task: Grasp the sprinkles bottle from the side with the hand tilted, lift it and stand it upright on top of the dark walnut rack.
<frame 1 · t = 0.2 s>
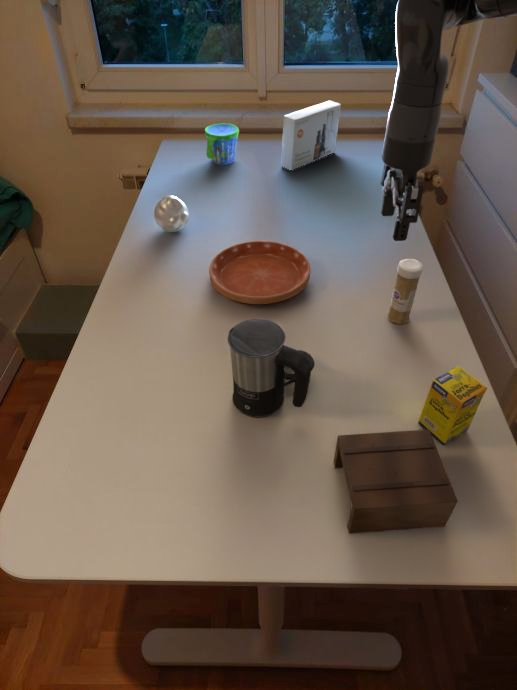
hand: (392, 227, 87), 23 cm above the table, tool pointing down, fingers open, 8 cm apart
rack: (386, 492, 76), on the table
skincare box: (309, 160, 164), on the table
sprinkles bottle: (398, 318, 106), on the table
milk frother: (273, 386, 92), on the table
snack cup: (223, 161, 164), on the table
supplement box: (442, 427, 85), on the table
shiny silver ball: (173, 230, 132), on the table
saucer: (259, 280, 116), on the table
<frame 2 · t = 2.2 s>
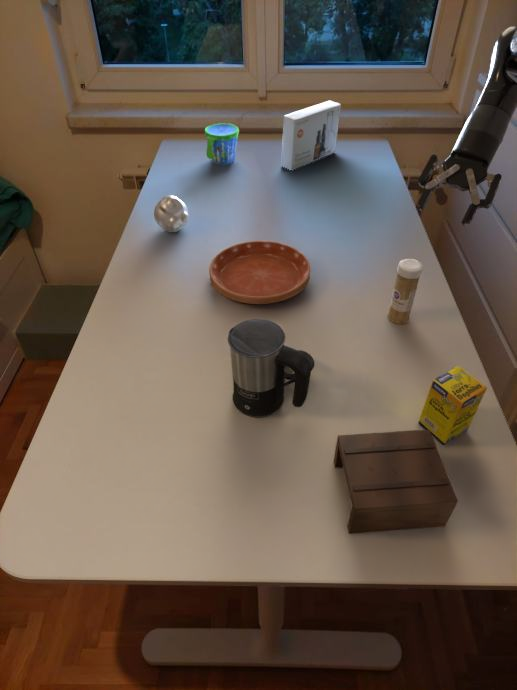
hand: (441, 217, 97), 19 cm above the table, tool tilted 40°, fingers open, 8 cm apart
nothing on the table moved.
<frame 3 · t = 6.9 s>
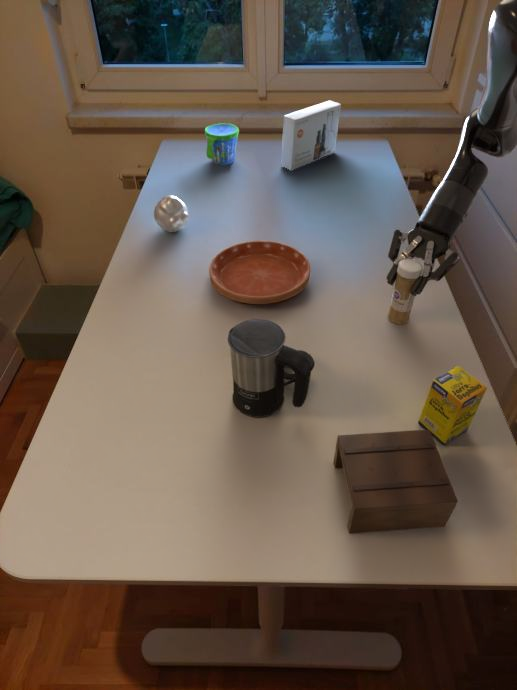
hand: (401, 289, 99), 9 cm above the table, tool tilted 45°, fingers closed on sprinkles bottle, 4 cm apart
sprinkles bottle: (398, 318, 106), on the table, touching gripper
everything else where it was.
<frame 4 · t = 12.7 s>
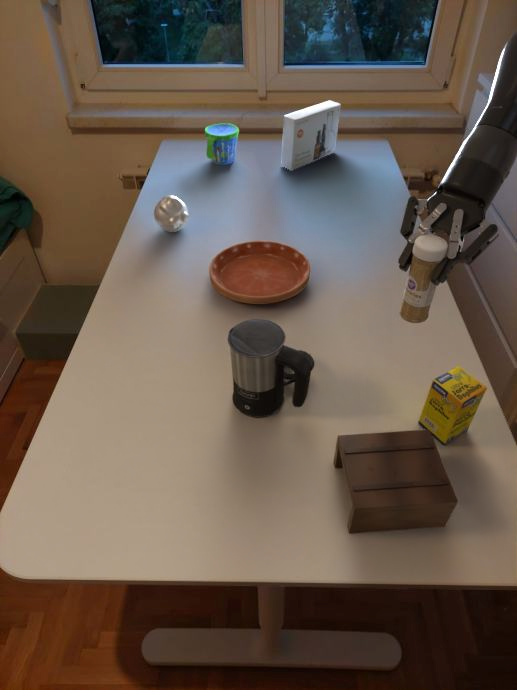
hand: (418, 276, 73), 26 cm above the table, tool tilted 45°, fingers closed on sprinkles bottle, 4 cm apart
sprinkles bottle: (413, 316, 80), point 17 cm above the table, touching gripper
everything else where it was.
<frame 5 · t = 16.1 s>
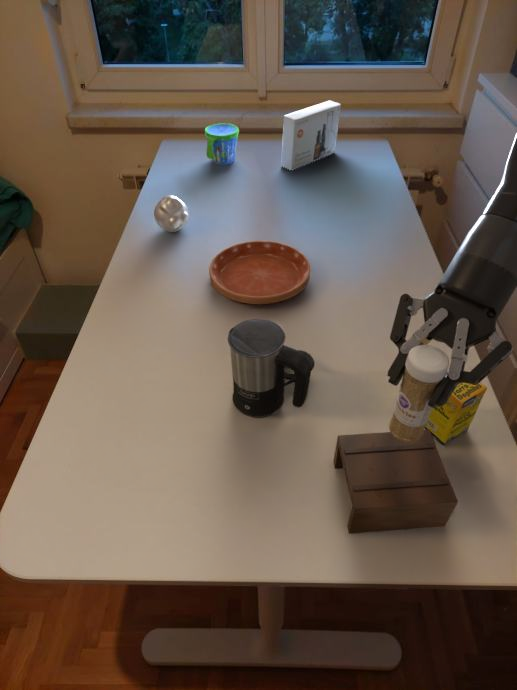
hand: (412, 394, 59), 24 cm above the table, tool tilted 45°, fingers closed on sprinkles bottle, 4 cm apart
sprinkles bottle: (405, 430, 66), point 15 cm above the table, touching gripper
everything else where it was.
when the fingers open (16 cm above the table, at t = 18.8 s): sprinkles bottle stays where it is, resting on rack.
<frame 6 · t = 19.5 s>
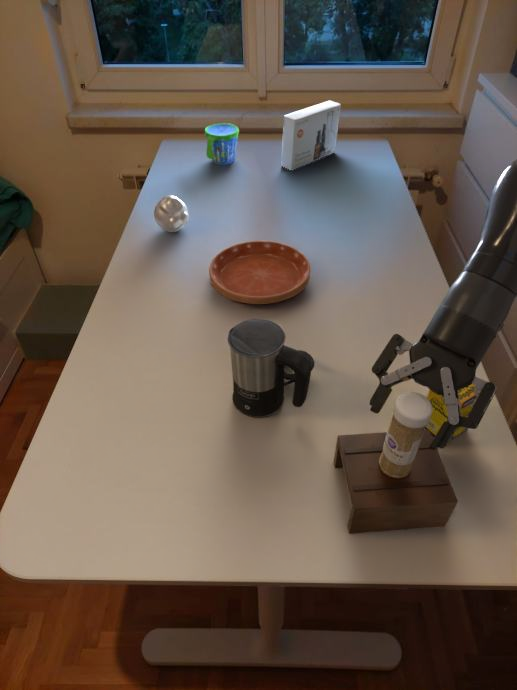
hand: (402, 429, 64), 17 cm above the table, tool tilted 45°, fingers open, 8 cm apart
sprinkles bottle: (394, 466, 71), point 7 cm above the table, touching rack
everything else where it was.
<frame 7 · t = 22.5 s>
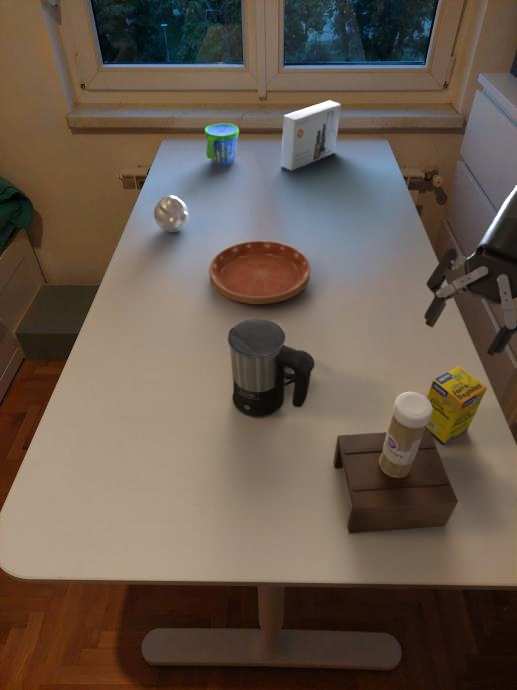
hand: (458, 340, 66), 24 cm above the table, tool tilted 45°, fingers open, 8 cm apart
nothing on the table moved.
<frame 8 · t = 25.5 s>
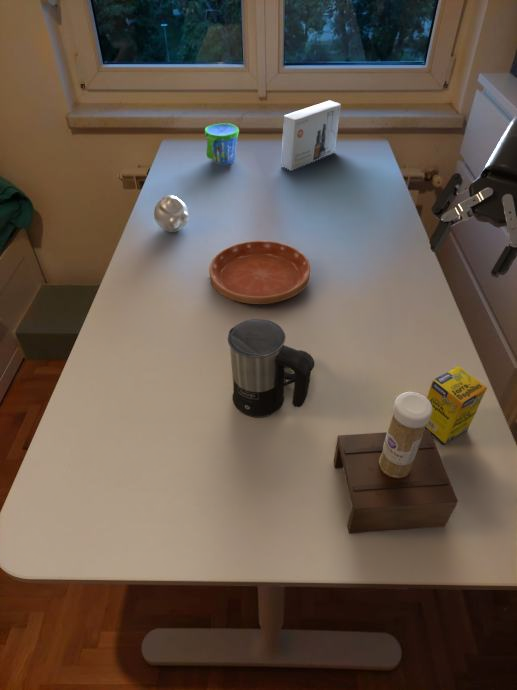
hand: (462, 262, 66), 31 cm above the table, tool tilted 45°, fingers open, 8 cm apart
nothing on the table moved.
at the end: sprinkles bottle inside the target area on the rack (0.1 cm from its centre), point 6.8 cm above the rack's base; sprinkles bottle tilted 0°; the gripper is holding nothing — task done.
